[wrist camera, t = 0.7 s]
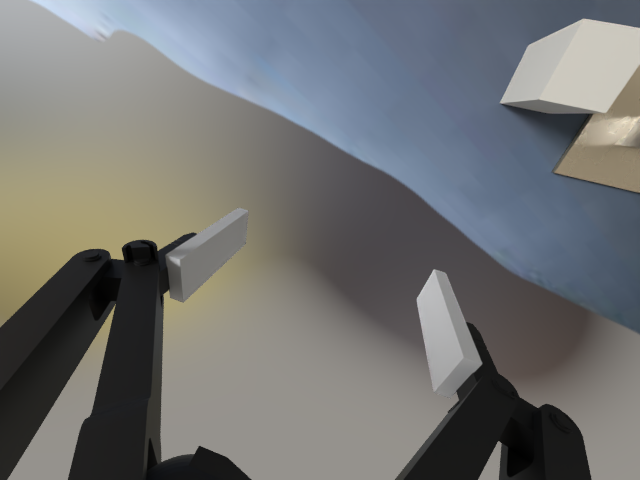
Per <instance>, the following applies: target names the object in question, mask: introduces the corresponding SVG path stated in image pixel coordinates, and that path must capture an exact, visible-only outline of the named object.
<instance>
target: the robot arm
mask: <svg viewBox="0 0 640 480" xmlns="http://www.w3.org/2000/svg"><path fill="white" fill-rule="evenodd" d="M247 222H248V211H247V210H244V209H241V208H238V209H236V210H234V211H233V212H231V213H230V214H228V215H226V216H225V217H223V218H222V219H220V220H219V221H217V222H216V223H214V224H212V225H211V226H209V227H208V228H206V229H205V230H203V231H202V232H200V233H198V234H196V233H190V234H186V235H183V236H182V237H180V238H178V239H177V240H175V241H174V242H172V243H171V244H169V245H167V246H165V247H164V248H162V249H160V250H159V251H157V246H156V244H155V243H154V242H153V241H149V240H136V241H132V242H129V243H127V244H125V245H124V246H123V247H122V252H123V256H124V260H117V259H111V256H110V253H109V252H108V251H106V250H103V249H89V250H85V251H82V252H79V253H77V254H76V255H74V256H73V257H72V258H71V259H70V260H69V261H68V262H67V263H66V264H65V265H64V266H63V267H62V268H61V269H60V270H59V271H58V272H57V273H56V274H55V275H54V276H53V277H52V278H51V279H49V280H48V281H47V283H46V284H44V285H43V286H42V287H41V288H40V289H39V290H38V291H37V292H36V293H35V294H34V295H33V296H32V297H31V298H30V299H29V300H28V301H27V302H26V303H25V304H24V305H23V306H22V307H21V308H20V309H19V310H18V311H17V312H16V313H15V314H14V315H13V316H12V317H11V318H10V319H9V320H7V322H5V323H4V324H3V325H2V326H1V327H0V480H7V479H8V477H9V476H10V474H11V473H12V471H13V469H14V468H15V466H16V465H17V463H18V461H19V459H20V458H21V457H22V455H23V453H24V452H25V450H26V449H27V447H28V445H29V444H30V442H31V440H32V439H33V437H34V436H35V434H36V432H37V431H38V429H39V427H40V426H41V424H42V423H43V421H44V419H45V418H46V416H47V414H48V413H49V411H50V410H51V408H52V406H53V405H54V403H55V401H56V400H57V398H58V397H59V395H60V393H61V391H62V390H63V388H64V387H65V385H66V384H67V382H68V380H69V379H70V377H71V375H72V374H73V372H74V371H75V369H76V367H77V366H78V364H79V363H80V361H81V359H82V358H83V356H84V354H85V353H86V351H87V350H88V348H89V346H90V344H91V343H92V341H93V340H94V338H95V337H96V335H97V333H98V332H99V330H100V328H101V327H102V325H103V324H104V322H105V320H106V319H107V317H108V315H109V314H110V312H111V310H112V309H113V307H114V306H115V304H116V306H115V310H114V315H113V320H112V324H111V328H110V333H109V338H108V342H107V346H106V351H105V356H104V360H103V365H102V369H101V374H100V379H99V383H98V387H97V392H96V396H95V401H94V405H93V410H92V413H91V415H90V417H88V418H87V419H85V420H84V422H83V424H82V426H81V430H80V433H79V436H78V441H77V445H76V448H75V453H74V457H73V461H72V465H71V469H70V473H69V477H68V480H251V479H250V478H249V477H248V476H247V475H246V474H245V473H244V472H242V471H241V470H240V469H239V468H238V467H237V466H236V465H235V464H234V463H233V462H232V461H231V460H229V459H228V458H227V457H225V456H222V455H220V454H218V453H215V452H213V451H211V450H208V449H206V448H203V447H201V446H199V447H198V449H197V451H196V453H195V454H189V455H181V456H177V457H173V458H171V459H168V460H166V461H163V462H161V442H160V425H161V386H162V347H163V346H162V345H163V309H164V308H163V307H164V305H163V304H164V297H163V294H164V293H166V292H167V291H168V290H169V292H170V298H172V299H175V300H178V301H180V302H184V301H185V300H187V299H188V298H189V297H190V296H191V295H192V294H193V293H194V292H195V291H196V290H197V289H198V288H199V287H200V286H201V285H203V283H205V282H206V281H207V280H208V279H209V278H210V277H211V276H212V275H213V274H214V273H215V272H216V271H217V270H218V269H219V268H220V267H222V266H223V265H224V264H225V263H226V262H227V261H228V260H229V259H230V258H231V257H232V256H233V255H234V254H235V253H236V252H237V251H239V250H240V249H241V248H242V247H243V246H244V245H245V244H246V234H247ZM417 305H418V311H419V316H420V321H421V326H422V332H423V337H424V343H425V347H426V353H427V359H428V363H429V369H430V375H431V380H432V385H433V391H434V393H436V394H439V395H442V396H445V397H447V398H451V397H452V396H453V395H454V394H455V393H456V392H457V395H458V398H459V401H458V402H457V403H456V404H455V405H454V406H453V407H452V408H451V409H450V410H449V411H448V414H447V415H446V416H445V418H444V419H443V420H442V422H441V423H440V424H439V425H438V427H437V428H436V429H435V430H434V431H433V433H432V434H431V435H430V436H429V438H428V439H427V440H426V441H425V443H424V444H423V445H422V447H421V448H420V449H419V450H418V451H417V453H416V454H415V455H414V456H413V458H412V459H411V460H410V461H409V463H408V464H407V465H406V466H405V468H404V469H403V470H402V472H401V473H400V474H399V475H398V476H397V478H396V479H395V480H478V478H479V476H480V475H481V473H482V471H483V469H484V467H485V465H486V463H487V461H488V459H489V457H490V455H491V453H492V452H493V450H494V448H495V446H496V444H497V442H498V441H500V442H501V443H502V447H501V459H500V473H499V480H591V475H590V470H589V465H588V460H587V455H586V450H585V445H584V440H583V436H582V434H581V432H580V430H579V428H578V427H577V425H576V424H575V423H574V422H573V420H571V419H570V417H569V416H568V415H566V414H565V413H564V412H562V411H561V410H560V409H558V408H556V407H554V406H553V405H549V404H545V405H542V406H541V407H539V408H537V407H535V406H533V405H532V404H530V403H528V402H527V401H525V400H523V399H522V398H520V397H519V395H518V393H517V391H516V389H515V388H514V386H513V385H512V384H511V383H510V382H509V381H508V380H507V379H505V378H504V377H503V376H501V375H500V374H498V372H497V370H496V367H495V365H494V363H493V361H492V359H491V356H490V354H489V352H488V350H487V347H486V345H485V343H484V341H483V339H482V336H481V334H480V333H479V331H478V330H477V329H476V327H475V326H474V325H473V324H471V323H468V322H465V319H464V317H463V314H462V312H461V309H460V307H459V304H458V302H457V299H456V297H455V295H454V292H453V290H452V287H451V285H450V282H449V280H448V277H447V275H446V273H444V272H441V271H438V270H435V269H434V270H433V272H432V274H431V276H430V277H429V279H428V281H427V282H426V284H425V286H424V288H423V289H422V291H421V293H420V295H419V296H418V298H417Z"/></svg>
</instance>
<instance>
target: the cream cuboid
mask: <svg viewBox="0 0 640 480" xmlns="http://www.w3.org/2000/svg"><path fill="white" fill-rule="evenodd" d="M639 65H640V28H636V27H630V26H624V25H619V24H613V23H607V22H601V21H595V20H589V19H582V20H580V21H578V22H576V23H574V24H571V25H569V26H567V27H565V28H563V29H561V30H559V31H557V32H555V33H553V34H551V35H549V36H547V37H544V38H542V39H540V40H538V41H536V42H534V43H532V44H530V45H528V47H527V49H526V51H525V53H524V55H523V57H522V59H521V61H520V63H519V65H518V67H517V69H516V71H515V73H514V75H513V77H512V80H511V82H510V84H509V86H508V88H507V90H506V92H505V94H504V96H503V98H502V100H501V102H500V104H505V105H510V106H514V107H519V108H524V109H529V110H533V111H538V112H543V113H548V114H578V113H606V112H607V111H608V109H609V108H610V106H611V105H612V104H613V102H614V101H615V99H616V98H617V96H618V95H619V93H620V92H621V91H622V89H623V88H624V86H625V85H626V83H627V82H628V80H629V79H630V78H631V76H632V75H633V73H634V72H635V70H636V69H637V68H638V66H639Z"/></svg>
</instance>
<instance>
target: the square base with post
mask: <svg viewBox="0 0 640 480" xmlns="http://www.w3.org/2000/svg"><path fill="white" fill-rule="evenodd" d="M552 172H554V173H558V174H562V175H566V176H570V177H575V178H579V179H583V180H587V181H592V182H596V183H600V184H604V185H609V186H613V187H617V188H621V189H626V190H630V191H634V192H639V193H640V65H639V66H638V68H637V69H636V70H635V72H634V73H633V75H632V76H631V78H630V79H629V80H628V82H627V83H626V85H625V86H624V88H623V89H622V91H621V92H620V93H619V95H618V96H617V98H616V99H615V101H614V102H613V104H612V105H611V106H610V108H609V109H608V111H607V112H606V113H590V115H589V116H588V118H587V119H586V121H585V122H584V124H583V125H582V127H581V128H580V130H579V131H578V133H577V134H576V136H575V137H574V139H573V140H572V142H571V143H570V145H569V146H568V148H567V149H566V151H565V152H564V154H563V155H562V157H561V158H560V160H559V161H558V163H557V164H556V166H555V167H554V169H553V170H552Z"/></svg>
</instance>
